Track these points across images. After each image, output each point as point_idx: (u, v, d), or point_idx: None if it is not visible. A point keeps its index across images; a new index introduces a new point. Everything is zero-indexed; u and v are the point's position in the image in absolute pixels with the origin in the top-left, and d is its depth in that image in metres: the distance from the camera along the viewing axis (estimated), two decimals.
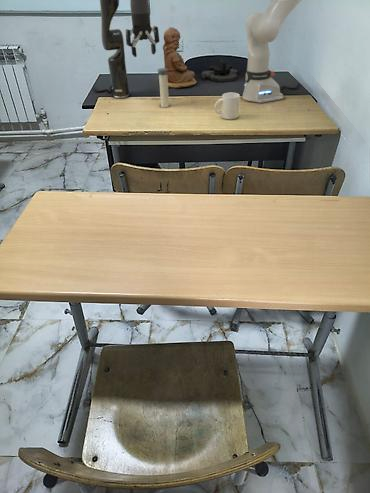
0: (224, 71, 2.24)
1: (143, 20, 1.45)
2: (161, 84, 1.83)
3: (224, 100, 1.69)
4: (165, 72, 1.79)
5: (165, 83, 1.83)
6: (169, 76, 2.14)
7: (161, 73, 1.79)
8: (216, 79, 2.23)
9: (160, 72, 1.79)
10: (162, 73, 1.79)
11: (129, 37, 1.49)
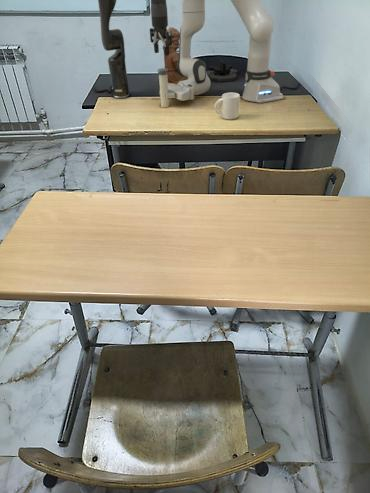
0: (224, 71, 2.24)
1: None
2: (161, 84, 1.83)
3: (224, 100, 1.69)
4: (165, 72, 1.79)
5: (165, 83, 1.83)
6: (169, 76, 2.14)
7: (161, 73, 1.79)
8: (216, 79, 2.23)
9: (160, 72, 1.79)
10: (162, 73, 1.79)
11: None
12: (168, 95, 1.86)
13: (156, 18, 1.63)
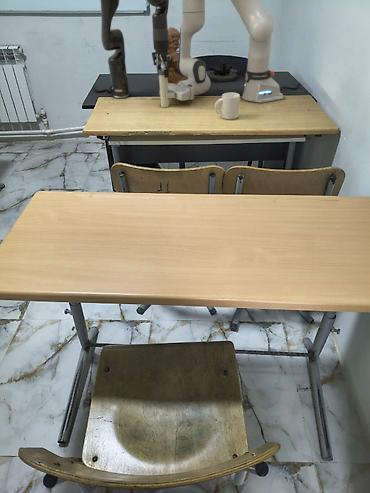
0: (224, 71, 2.24)
1: None
2: (161, 84, 1.83)
3: (224, 100, 1.69)
4: None
5: (165, 83, 1.83)
6: (169, 76, 2.14)
7: (161, 73, 1.79)
8: (216, 79, 2.23)
9: (160, 72, 1.79)
10: (162, 73, 1.79)
11: None
12: (168, 95, 1.86)
13: (158, 42, 1.69)
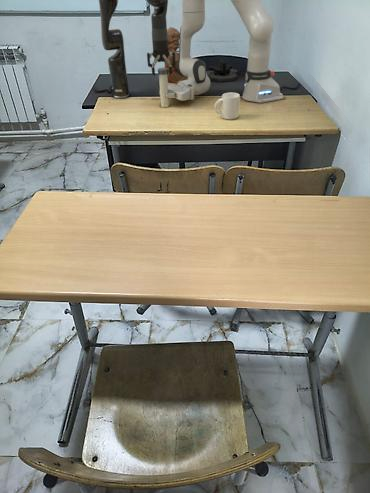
0: (224, 71, 2.24)
1: None
2: (161, 84, 1.83)
3: (224, 100, 1.69)
4: None
5: (165, 83, 1.83)
6: (169, 76, 2.14)
7: (167, 72, 1.80)
8: (216, 79, 2.23)
9: (166, 71, 1.79)
10: (167, 71, 1.80)
11: None
12: (168, 95, 1.86)
13: (164, 41, 1.69)
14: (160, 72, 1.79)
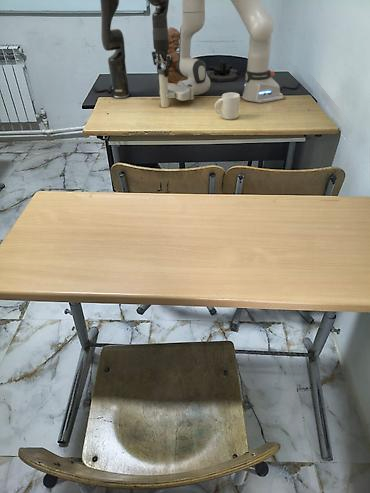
0: (224, 71, 2.24)
1: None
2: (161, 84, 1.83)
3: (224, 100, 1.69)
4: None
5: (165, 83, 1.83)
6: (169, 76, 2.14)
7: None
8: (216, 79, 2.23)
9: None
10: None
11: None
12: (168, 95, 1.86)
13: (158, 41, 1.69)
14: (160, 72, 1.79)
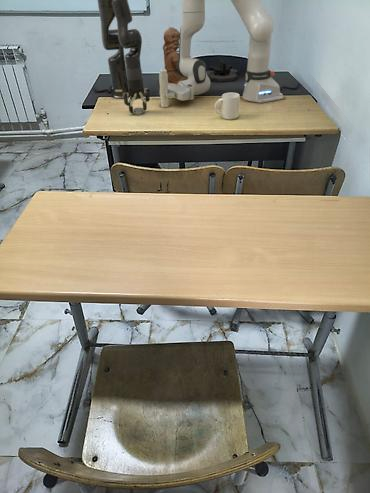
0: (224, 71, 2.24)
1: None
2: (161, 84, 1.83)
3: (224, 100, 1.69)
4: None
5: (165, 83, 1.83)
6: (169, 76, 2.14)
7: None
8: (216, 79, 2.23)
9: None
10: None
11: None
12: (168, 95, 1.86)
13: (141, 80, 1.73)
14: (141, 112, 1.83)
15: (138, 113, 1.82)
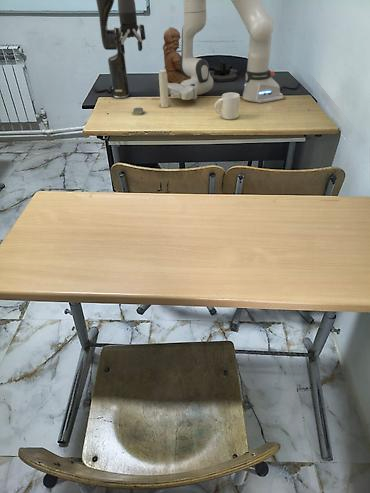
0: (224, 71, 2.24)
1: None
2: (161, 84, 1.83)
3: (224, 100, 1.69)
4: None
5: (165, 83, 1.83)
6: (169, 76, 2.14)
7: None
8: (216, 79, 2.23)
9: None
10: None
11: None
12: (173, 95, 1.85)
13: (134, 13, 1.55)
14: (141, 112, 1.83)
15: (138, 113, 1.82)
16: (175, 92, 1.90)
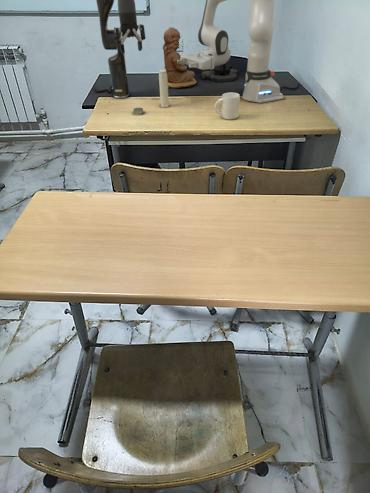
0: (224, 71, 2.24)
1: None
2: (161, 84, 1.83)
3: (224, 100, 1.69)
4: None
5: (165, 83, 1.83)
6: (169, 76, 2.14)
7: None
8: (216, 79, 2.23)
9: None
10: None
11: None
12: (191, 65, 1.82)
13: (134, 13, 1.55)
14: (141, 112, 1.83)
15: (138, 113, 1.82)
16: (192, 62, 1.87)
